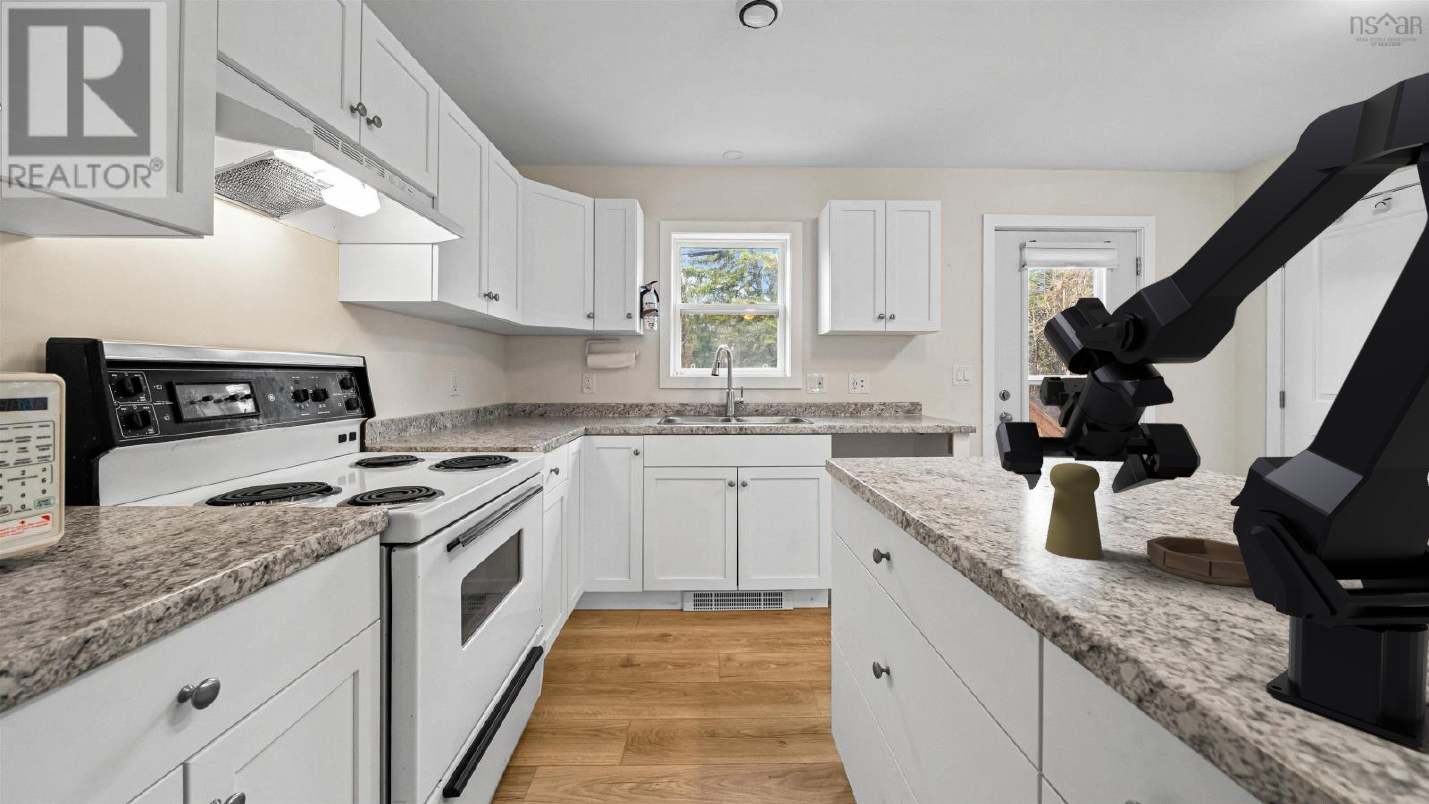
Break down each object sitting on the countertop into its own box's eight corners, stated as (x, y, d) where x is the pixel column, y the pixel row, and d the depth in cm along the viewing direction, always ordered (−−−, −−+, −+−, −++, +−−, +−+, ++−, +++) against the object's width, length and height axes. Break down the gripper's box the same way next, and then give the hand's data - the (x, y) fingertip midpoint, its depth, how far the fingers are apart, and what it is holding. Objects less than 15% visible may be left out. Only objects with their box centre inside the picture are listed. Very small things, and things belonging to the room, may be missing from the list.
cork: (1084, 544, 69) (1085, 460, 69) (1114, 560, 63) (1116, 467, 63) (1035, 543, 70) (1036, 460, 69) (1061, 559, 64) (1062, 467, 63)
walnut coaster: (1247, 593, 53) (1247, 569, 53) (1134, 565, 61) (1134, 544, 61) (1283, 576, 57) (1284, 554, 57) (1173, 551, 66) (1173, 532, 66)
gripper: (1188, 350, 58) (1138, 439, 69) (999, 354, 64) (981, 437, 75) (1232, 428, 51) (1169, 514, 62) (1015, 425, 57) (992, 505, 68)
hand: (1071, 488), depth 67 cm, fingers open, 9 cm apart
